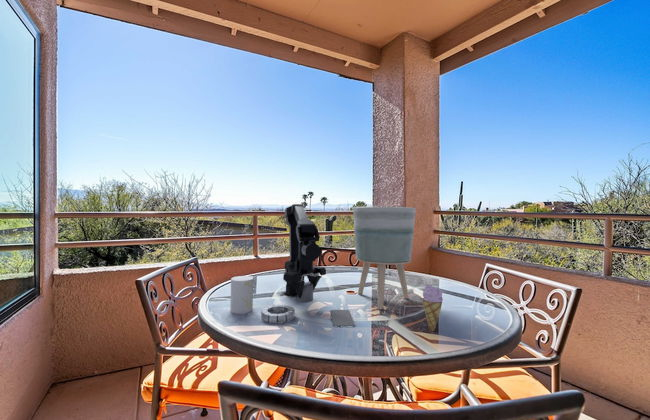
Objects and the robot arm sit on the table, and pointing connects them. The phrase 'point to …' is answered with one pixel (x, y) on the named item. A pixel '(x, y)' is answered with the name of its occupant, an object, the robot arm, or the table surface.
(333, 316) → the smartphone
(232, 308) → the grey cylinder
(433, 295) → the ice cream cone
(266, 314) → the segmented grey ring
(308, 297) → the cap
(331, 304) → the table surface
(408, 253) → the planter
